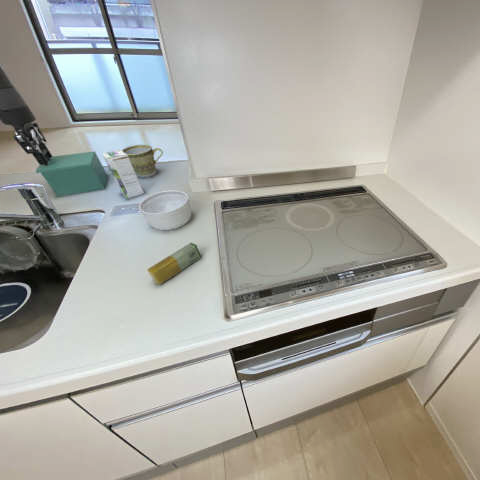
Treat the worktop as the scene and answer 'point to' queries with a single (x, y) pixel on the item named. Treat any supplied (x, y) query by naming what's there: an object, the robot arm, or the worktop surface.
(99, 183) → the teal box
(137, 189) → the syrup box
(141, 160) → the ceramic cup
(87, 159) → the teal box lid
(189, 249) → the medication box
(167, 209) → the ramekin
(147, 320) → the worktop surface
